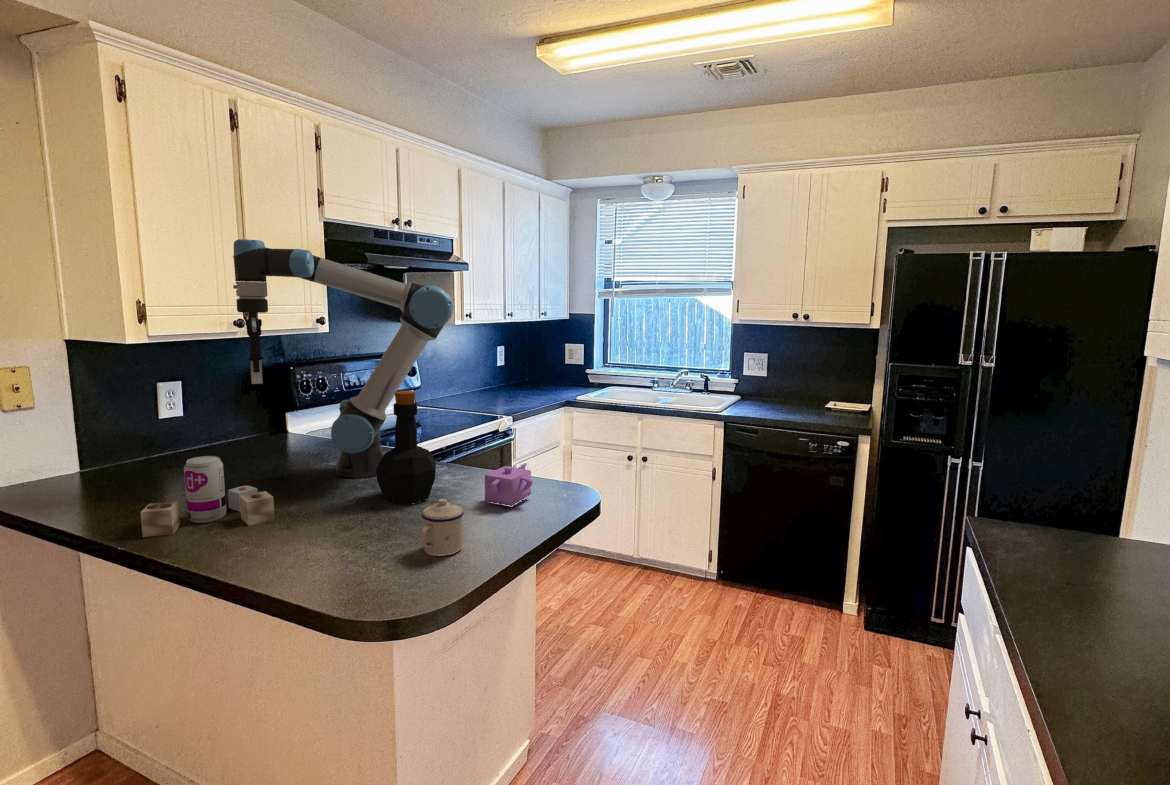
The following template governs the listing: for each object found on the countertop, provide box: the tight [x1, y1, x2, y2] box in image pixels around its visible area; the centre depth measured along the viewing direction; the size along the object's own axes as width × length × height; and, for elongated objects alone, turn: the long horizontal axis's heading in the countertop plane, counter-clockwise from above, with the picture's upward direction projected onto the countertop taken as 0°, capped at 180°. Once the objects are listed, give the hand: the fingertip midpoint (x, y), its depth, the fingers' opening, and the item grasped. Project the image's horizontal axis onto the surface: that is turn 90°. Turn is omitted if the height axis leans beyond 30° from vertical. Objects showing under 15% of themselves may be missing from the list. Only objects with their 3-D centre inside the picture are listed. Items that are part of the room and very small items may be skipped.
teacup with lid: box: [418, 498, 465, 555], centre depth 138 cm, size 12×9×12 cm
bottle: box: [376, 390, 437, 505], centre depth 172 cm, size 16×16×30 cm
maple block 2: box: [240, 490, 276, 526], centre depth 155 cm, size 6×6×6 cm
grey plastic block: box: [227, 484, 259, 513], centre depth 163 cm, size 5×5×5 cm
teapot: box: [484, 463, 533, 506], centre depth 172 cm, size 18×14×10 cm
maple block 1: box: [140, 501, 181, 538], centre depth 146 cm, size 6×6×6 cm
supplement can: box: [183, 455, 227, 524], centre depth 154 cm, size 8×8×15 cm
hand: (257, 383), depth 174 cm, fingers closed
